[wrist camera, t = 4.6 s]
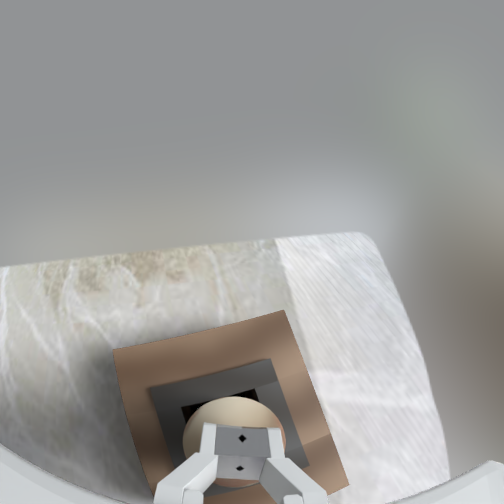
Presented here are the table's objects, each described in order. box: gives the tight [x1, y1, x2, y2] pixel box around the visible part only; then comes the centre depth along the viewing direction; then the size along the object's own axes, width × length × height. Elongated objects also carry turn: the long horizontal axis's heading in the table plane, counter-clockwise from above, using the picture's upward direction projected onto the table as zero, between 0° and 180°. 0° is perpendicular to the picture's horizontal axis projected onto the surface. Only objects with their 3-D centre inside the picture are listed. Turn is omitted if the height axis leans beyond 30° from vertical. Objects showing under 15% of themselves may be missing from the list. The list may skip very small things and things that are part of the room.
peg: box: [183, 397, 286, 487], centre depth 15 cm, size 5×5×8 cm
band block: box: [113, 310, 349, 504], centre depth 20 cm, size 16×14×9 cm
